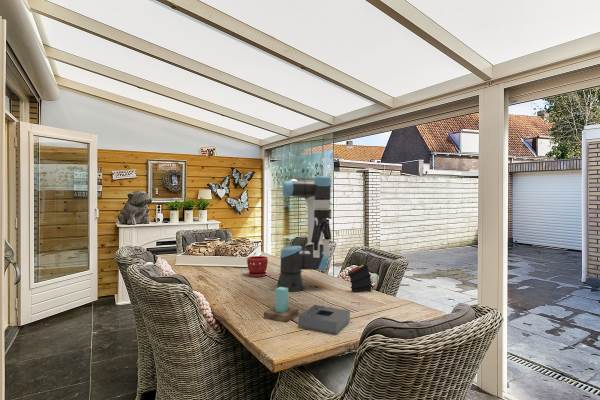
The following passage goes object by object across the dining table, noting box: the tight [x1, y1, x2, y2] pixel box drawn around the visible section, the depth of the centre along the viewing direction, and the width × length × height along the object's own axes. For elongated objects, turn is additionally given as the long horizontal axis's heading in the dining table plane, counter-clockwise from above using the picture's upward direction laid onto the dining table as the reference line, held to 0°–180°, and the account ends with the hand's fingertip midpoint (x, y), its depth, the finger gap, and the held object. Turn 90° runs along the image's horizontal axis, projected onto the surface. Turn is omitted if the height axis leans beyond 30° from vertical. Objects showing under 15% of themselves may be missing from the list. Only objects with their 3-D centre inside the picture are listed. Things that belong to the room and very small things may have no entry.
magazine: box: [347, 263, 373, 293], centre depth 198 cm, size 4×13×15 cm, turn 107°
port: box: [297, 304, 351, 335], centre depth 146 cm, size 16×16×4 cm
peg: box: [274, 287, 289, 313], centre depth 155 cm, size 4×4×12 cm
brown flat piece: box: [263, 305, 300, 323], centre depth 155 cm, size 11×11×2 cm
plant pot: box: [246, 255, 269, 278], centre depth 231 cm, size 13×13×12 cm
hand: (321, 255), depth 167 cm, fingers open, 13 cm apart
